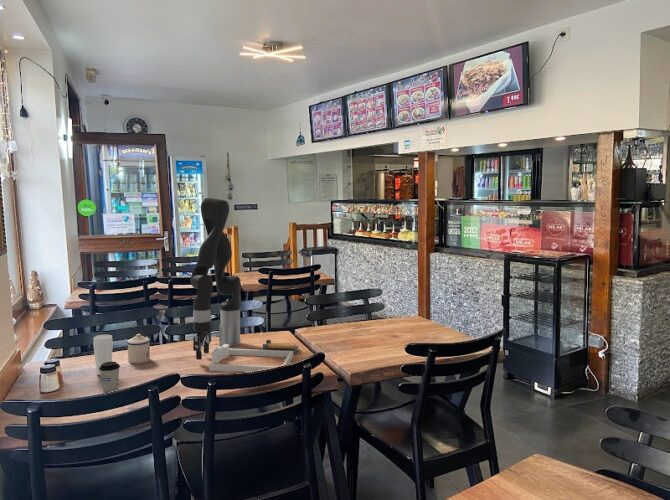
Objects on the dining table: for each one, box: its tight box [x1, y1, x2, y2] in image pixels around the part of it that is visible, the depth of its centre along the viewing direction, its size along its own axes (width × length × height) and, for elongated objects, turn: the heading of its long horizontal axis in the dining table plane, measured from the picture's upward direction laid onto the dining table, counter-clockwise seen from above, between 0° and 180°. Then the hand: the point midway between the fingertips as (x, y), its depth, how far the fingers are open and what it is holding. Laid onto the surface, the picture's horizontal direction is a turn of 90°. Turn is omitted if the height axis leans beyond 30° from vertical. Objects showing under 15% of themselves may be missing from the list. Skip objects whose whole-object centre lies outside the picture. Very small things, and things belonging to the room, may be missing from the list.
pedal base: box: [260, 339, 299, 356], centre depth 224 cm, size 16×8×4 cm, turn 84°
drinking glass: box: [93, 334, 114, 376], centre depth 192 cm, size 7×7×15 cm
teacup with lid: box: [127, 333, 151, 365], centre depth 209 cm, size 12×9×12 cm
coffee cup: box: [99, 360, 121, 394], centre depth 175 cm, size 7×7×10 cm
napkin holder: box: [211, 344, 230, 364], centre depth 213 cm, size 15×11×6 cm
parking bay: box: [208, 347, 294, 372], centre depth 207 cm, size 31×22×2 cm
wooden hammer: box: [267, 342, 297, 348], centre depth 224 cm, size 14×5×1 cm, turn 84°
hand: (202, 356), depth 209 cm, fingers open, 8 cm apart
